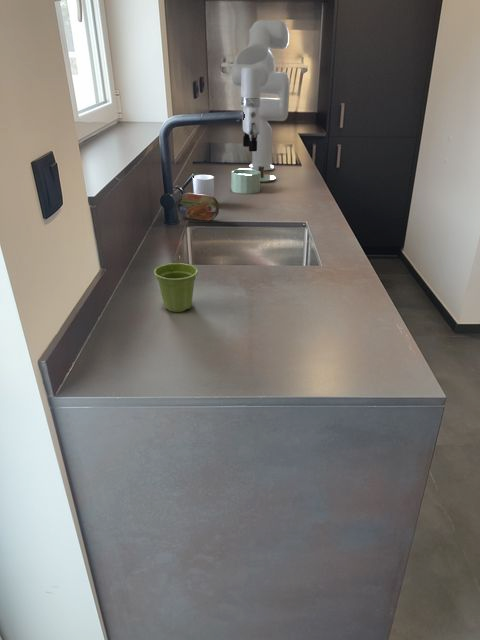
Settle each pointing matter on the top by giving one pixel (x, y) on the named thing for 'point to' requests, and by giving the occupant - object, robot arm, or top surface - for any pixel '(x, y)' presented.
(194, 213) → the tin
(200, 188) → the white cup
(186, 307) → the plant pot
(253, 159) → the robot arm
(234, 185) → the crock
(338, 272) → the top surface
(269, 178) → the lid
